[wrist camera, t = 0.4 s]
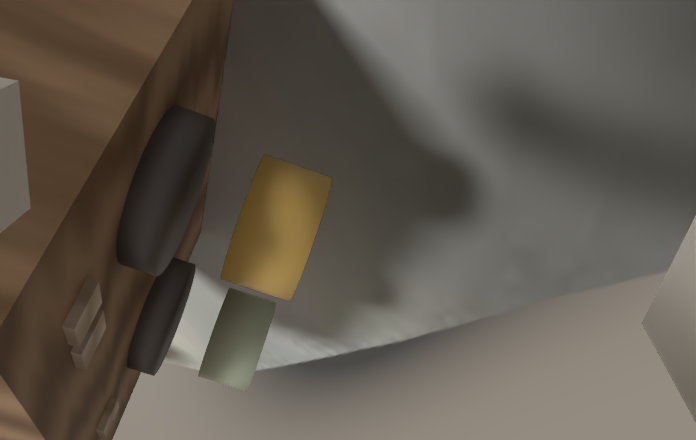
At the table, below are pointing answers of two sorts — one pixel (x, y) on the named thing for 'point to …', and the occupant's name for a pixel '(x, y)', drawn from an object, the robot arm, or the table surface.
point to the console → (102, 201)
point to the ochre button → (276, 228)
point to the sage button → (237, 339)
